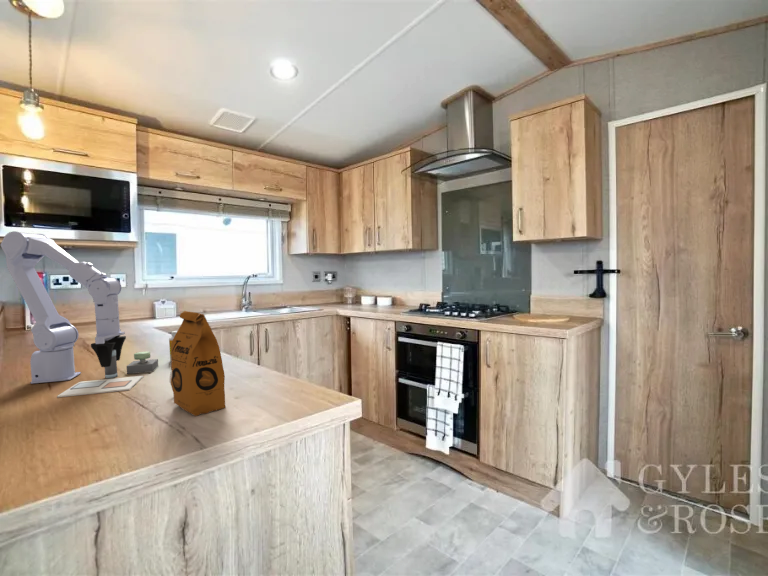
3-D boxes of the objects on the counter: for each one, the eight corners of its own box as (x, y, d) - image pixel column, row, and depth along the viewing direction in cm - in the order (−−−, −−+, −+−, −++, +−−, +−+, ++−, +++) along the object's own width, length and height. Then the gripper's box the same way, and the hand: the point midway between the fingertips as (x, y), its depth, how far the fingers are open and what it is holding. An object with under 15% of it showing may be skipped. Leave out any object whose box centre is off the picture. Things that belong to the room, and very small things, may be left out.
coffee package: (185, 420, 82) (179, 316, 80) (168, 406, 91) (163, 312, 90) (232, 408, 89) (227, 312, 87) (212, 395, 98) (208, 308, 96)
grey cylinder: (103, 378, 115) (101, 352, 115) (107, 376, 118) (105, 349, 118) (115, 377, 116) (113, 351, 116) (119, 374, 119) (117, 349, 119)
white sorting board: (57, 397, 99) (57, 395, 99) (79, 383, 111) (79, 381, 111) (129, 390, 104) (129, 388, 104) (143, 376, 116) (143, 375, 116)
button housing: (127, 373, 120) (126, 366, 120) (134, 368, 127) (133, 361, 127) (152, 371, 122) (152, 363, 122) (158, 366, 129) (157, 358, 129)
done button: (132, 368, 122) (132, 355, 121) (137, 364, 126) (136, 352, 126) (148, 366, 123) (148, 353, 123) (152, 363, 127) (151, 351, 127)
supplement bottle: (171, 362, 133) (169, 333, 132) (169, 359, 138) (167, 331, 137) (189, 360, 136) (187, 331, 136) (187, 357, 141) (185, 329, 140)
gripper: (114, 320, 110) (117, 367, 111) (130, 314, 124) (133, 356, 125) (85, 322, 108) (88, 370, 109) (104, 316, 122) (108, 359, 123)
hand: (110, 363), depth 117 cm, fingers open, 7 cm apart
